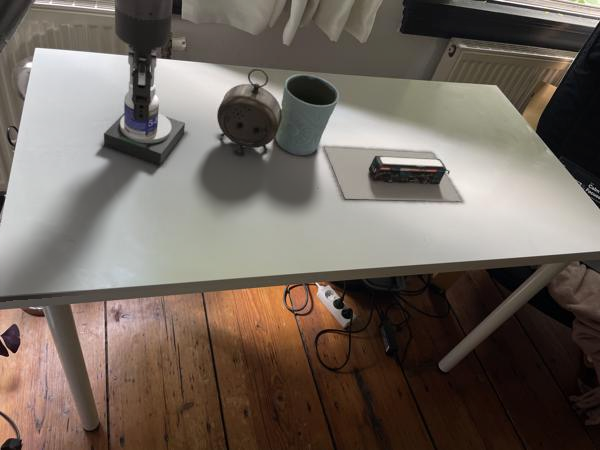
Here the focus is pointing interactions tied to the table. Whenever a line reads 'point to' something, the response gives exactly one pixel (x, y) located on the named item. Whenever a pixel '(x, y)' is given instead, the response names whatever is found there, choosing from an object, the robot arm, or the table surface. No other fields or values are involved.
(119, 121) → the scale
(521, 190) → the table surface
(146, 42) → the robot arm
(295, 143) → the teal ceramic cup
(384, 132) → the table surface
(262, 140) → the alarm clock
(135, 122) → the pill bottle
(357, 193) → the grey flat tray
